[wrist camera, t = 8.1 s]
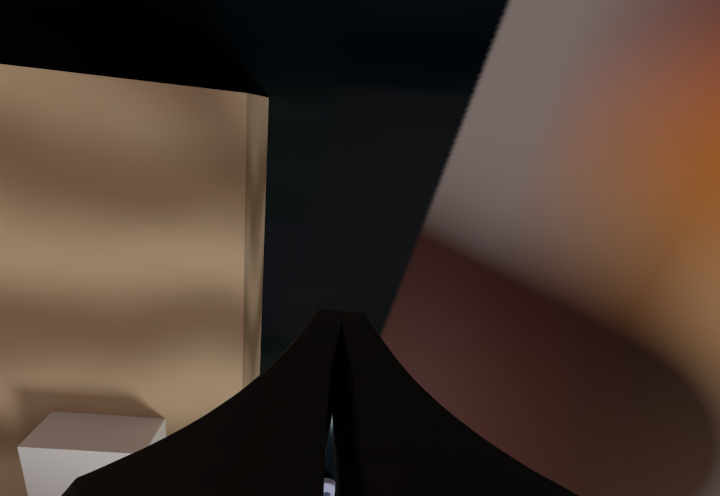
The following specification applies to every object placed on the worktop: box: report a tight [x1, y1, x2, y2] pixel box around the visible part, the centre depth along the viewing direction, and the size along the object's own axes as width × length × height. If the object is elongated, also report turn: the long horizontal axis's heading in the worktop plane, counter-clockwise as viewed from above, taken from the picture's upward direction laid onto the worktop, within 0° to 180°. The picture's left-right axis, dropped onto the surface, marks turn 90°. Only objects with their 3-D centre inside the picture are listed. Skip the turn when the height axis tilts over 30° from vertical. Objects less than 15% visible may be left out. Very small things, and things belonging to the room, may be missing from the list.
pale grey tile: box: [17, 411, 166, 496], centre depth 18 cm, size 5×5×2 cm
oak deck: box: [0, 64, 269, 496], centre depth 18 cm, size 20×12×4 cm, turn 174°
